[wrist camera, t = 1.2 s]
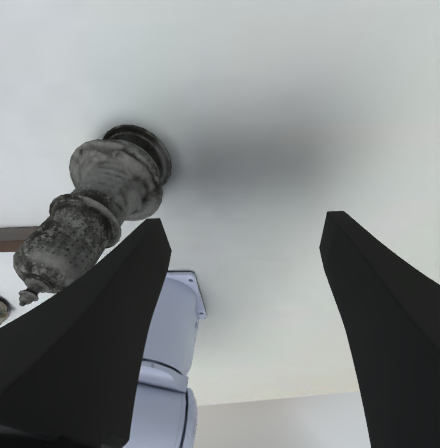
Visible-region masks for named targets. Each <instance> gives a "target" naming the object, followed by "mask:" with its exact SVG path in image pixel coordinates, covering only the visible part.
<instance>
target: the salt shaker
mask: <svg viewBox="0 0 440 448" xmlns="http://www.w3.org/2000/svg"><path fill="white" fill-rule="evenodd" d="M69 169H70V176H71V179H72V181H73V184H74V186H75V188H76V189H75V190H74V191H73V192H72V193H71V194H65V195H60V196H59V197H57V198H55V199H54V200H53V201H52V203H51V204H50V209H49V213H50V216H49V217H48V218H47V219H46V220H45V221H44V222H43V223H42V224H41V225H40V226H39V227H38V228H37V229H36V230H35V231H34V232H33V233H32V234H31V235H30V236H29V237H28V238H27V239H26V240H25V241H24V242H23V243H22V244H21V245H20V246H19V247H18V249H17V251H16V252H15V254H14V256H13V265H14V269H15V271H16V273H17V274H18V276H19V277H20V278H21V279H22V281H24V283H25V285H26V286H27V287H28V288H27V289H26V290H23V291H20V292H19V295H20V297H19V301H20V303H19V305H20V306H25V305H26V304H30V303H32V301H37V300H38V299H39V298H38V296H37V295H38V293H40V292H41V293H46V292H47V293H58V292H60V291H61V290H63V289H64V288H66V287H67V286H69V285H70V284H71V283H73V282H74V281H75V280H77V279H78V278H80V277H81V276H82V275H83V274H85V273H86V272H87V271H89V270H90V269H91V268H92V267H93V266H95V264H96V262H97V261H98V259H99V258H100V256H101V254H102V253H103V251H104V250H105V248H110V247H112V246H114V245H115V244H116V243H117V242H118V241H119V239H120V237H121V228H120V227H121V225H122V224H123V222H124V220H126V221H136V220H143V219H145V218H147V217H149V216H151V215H152V214H154V213H155V212H156V211H157V210H158V208H159V206H160V204H161V202H162V196H163V189H162V186H163V185H164V184H165V183H166V182H167V180H168V178H169V176H170V173H171V160H170V157H169V154H168V152H167V149H166V148H165V147H164V145H163V144H162V142H161V141H160V140H159V139H158V138H157V137H156V136H155V135H153V134H152V133H150V132H149V131H147V130H145V129H143V128H140V127H137V126H134V125H121V126H117V127H114V128H113V129H111V130H110V131H108V132H107V133H106V134H105V136H104V137H103V139H102V140H99V139H97V140H93V141H89V142H85V143H84V144H82V145H81V146H80V147H78V148H77V149H76V150H75V151H74V153H73V155H72V156H71V159H70V165H69Z"/></svg>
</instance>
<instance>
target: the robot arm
mask: <svg viewBox="0 0 440 448" xmlns="http://www.w3.org/2000/svg"><path fill="white" fill-rule="evenodd" d="M319 248H320V253H321V258H322V262H323V267H324V271H325V273H326V276H327V279H328V282H329V285H330V288H331V290H332V293H333V296H334V298H335V301H336V304H337V307H338V309H339V312H340V315H341V318H342V321H343V324H344V327H345V330H346V334H347V338H348V342H349V346H350V350H351V354H352V358H353V362H354V366H355V371H356V375H357V379H358V383H359V388H360V393H361V397H362V402H363V407H364V412H365V417H366V422H367V427H368V433H369V438H370V443H371V448H440V285H439V284H438V283H436V282H434V281H433V280H431V279H430V278H428V277H427V276H425V275H424V274H422V273H421V272H419V271H418V270H416V269H415V268H414V267H412V266H411V265H410V264H408V263H407V262H406V261H404V260H403V259H401V258H400V257H399V256H397V255H396V254H395V253H393V252H392V251H391V250H390V249H388V248H387V247H386V246H385V245H383V244H382V243H381V242H380V241H378V240H377V239H376V238H375V237H374V236H372V235H371V234H370V233H369V232H368V231H367V230H365V229H364V228H363V227H362V226H361V225H360V224H358V223H357V222H356V221H355V220H354V219H353V218H351V217H350V216H349V215H348V214H347V213H345V212H344V211H330V212H327V215H326V220H325V224H324V229H323V234H322V238H321V243H320V247H319ZM171 251H172V250H171V248H170V245H169V242H168V239H167V236H166V234H165V231H164V228H163V225H162V222H161V220H160V218H154V219H146V220H145V221H144V222H143V223H141V224H140V225H139V226H138V227H137V228H136V229H135V230H134V231H133V232H132V233H131V234H130V235H129V236H127V237H126V238H125V239H124V240H123V241H122V242H121V243H120V244H119V245H118V246H117V247H116V248H114V249H113V250H112V251H111V252H110V253H109V254H108V255H106V256H105V257H104V258H103V259H102V260H101V261H99V262H98V263H97V264H96V265H95V266H93V267H92V268H91V269H90V270H89V271H87V272H86V273H85V274H83V275H82V276H81V277H80V278H78V279H77V280H75V281H74V282H73V283H71V284H70V285H69V286H67V287H66V288H64V289H63V290H61V291H60V292H58V293H57V294H55V295H54V296H52V297H51V298H49V299H48V300H46V301H45V302H43V303H42V304H40V305H38V306H37V307H35V308H34V309H32V310H30V311H29V312H27V313H25V314H24V315H22V316H20V317H19V318H17V319H15V320H13V321H12V322H10V323H8V324H6V325H5V326H3V327H1V328H0V448H193V445H194V440H195V433H196V426H197V403H196V399H195V397H194V394H193V391H192V390H191V389H190V388H187V384H188V377H187V376H186V375H187V374H188V372H189V370H190V367H191V364H192V359H193V353H194V346H195V340H196V334H197V328H198V321H199V319H206V316H207V315H206V311H205V308H204V305H203V301H202V298H201V294H200V291H199V288H198V284H197V281H196V277H195V275H194V274H193V273H192V272H167V271H168V267H169V262H170V256H171Z"/></svg>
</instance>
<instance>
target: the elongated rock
mask: <svg viewBox="0 0 440 448" xmlns="http://www.w3.org/2000/svg"><path fill="white" fill-rule="evenodd" d="M6 312H7V306H6V305H5V304H4V303H3V302H1V301H0V325H1V324H2V322H4V321H5V320H6V319H7V318H8V317H9V316H10V315H9V314H7V313H6Z"/></svg>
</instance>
